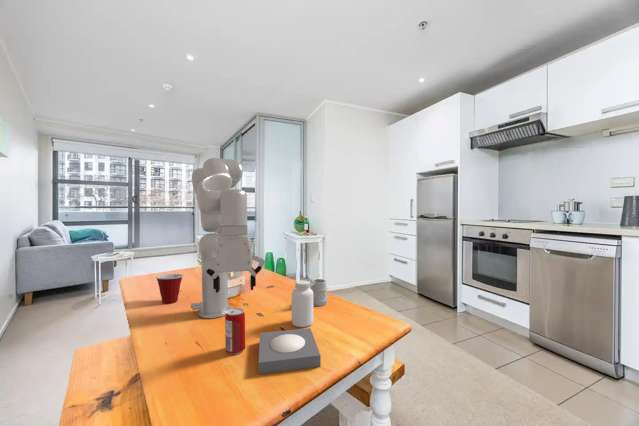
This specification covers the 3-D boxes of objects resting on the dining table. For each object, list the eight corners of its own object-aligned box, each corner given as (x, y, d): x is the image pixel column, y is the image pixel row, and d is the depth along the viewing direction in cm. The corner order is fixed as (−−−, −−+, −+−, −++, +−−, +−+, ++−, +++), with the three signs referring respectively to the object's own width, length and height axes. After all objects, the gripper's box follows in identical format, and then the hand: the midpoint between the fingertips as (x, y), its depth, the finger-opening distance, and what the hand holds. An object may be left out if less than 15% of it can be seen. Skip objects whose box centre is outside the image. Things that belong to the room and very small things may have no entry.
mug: (331, 303, 116) (331, 276, 115) (310, 310, 108) (310, 281, 107) (319, 298, 121) (319, 272, 121) (299, 305, 113) (299, 277, 113)
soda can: (248, 346, 80) (248, 307, 80) (239, 356, 75) (238, 314, 75) (231, 344, 81) (231, 306, 81) (221, 354, 76) (221, 313, 76)
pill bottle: (316, 319, 99) (316, 280, 98) (308, 329, 91) (308, 286, 91) (297, 317, 101) (296, 278, 101) (287, 326, 94) (287, 284, 93)
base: (258, 374, 67) (258, 361, 67) (259, 342, 83) (259, 332, 82) (320, 366, 70) (320, 354, 70) (310, 337, 86) (310, 327, 86)
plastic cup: (189, 298, 123) (188, 272, 123) (172, 306, 112) (172, 278, 112) (168, 296, 125) (168, 271, 125) (150, 305, 114) (149, 277, 114)
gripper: (199, 233, 72) (200, 296, 72) (264, 231, 75) (265, 291, 75) (205, 231, 79) (206, 288, 79) (264, 230, 83) (265, 284, 83)
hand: (235, 290), depth 77 cm, fingers open, 9 cm apart
